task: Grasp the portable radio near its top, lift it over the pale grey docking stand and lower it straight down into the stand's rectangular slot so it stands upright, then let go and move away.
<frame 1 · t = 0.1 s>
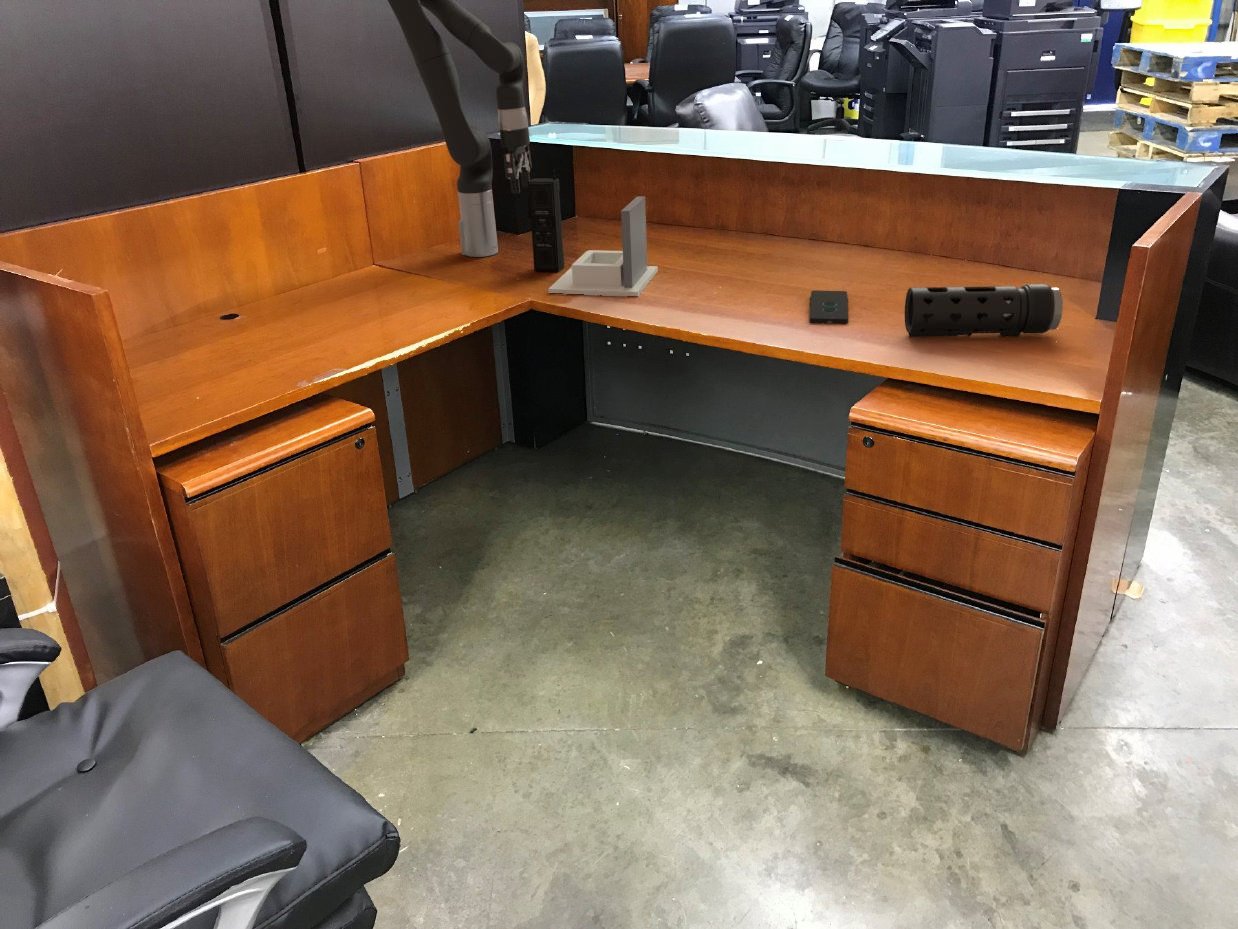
hand: (521, 190, 256), 17 cm above the table, tool pointing down, fingers open, 8 cm apart
portable radio: (548, 269, 249), on the table
docking stand: (604, 282, 236), on the table
smart home device: (828, 311, 210), on the table
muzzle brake: (978, 337, 191), on the table
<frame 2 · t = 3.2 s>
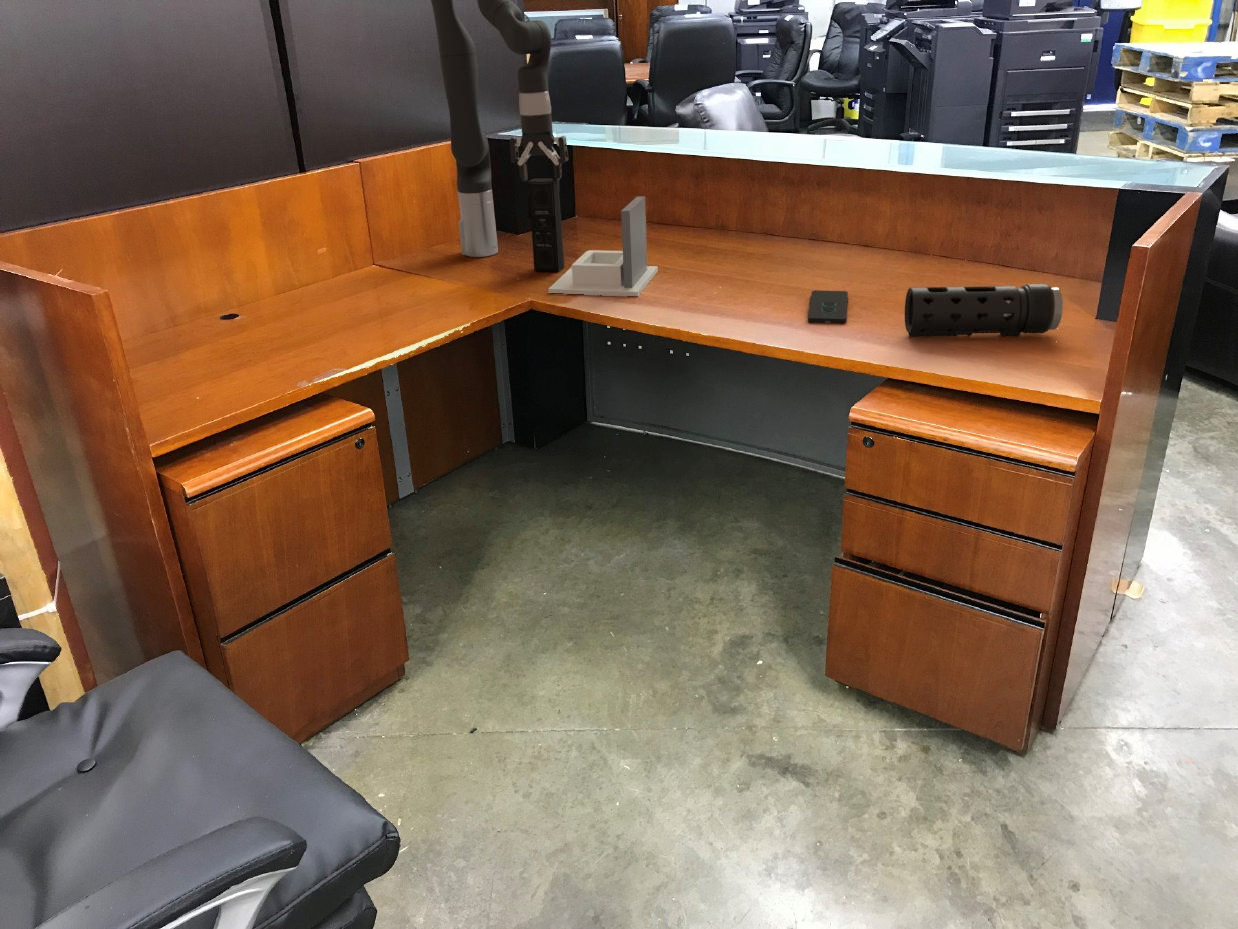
hand: (541, 180, 239), 23 cm above the table, tool pointing down, fingers open, 8 cm apart
portable radio: (548, 269, 249), on the table, touching gripper
everything else where it was.
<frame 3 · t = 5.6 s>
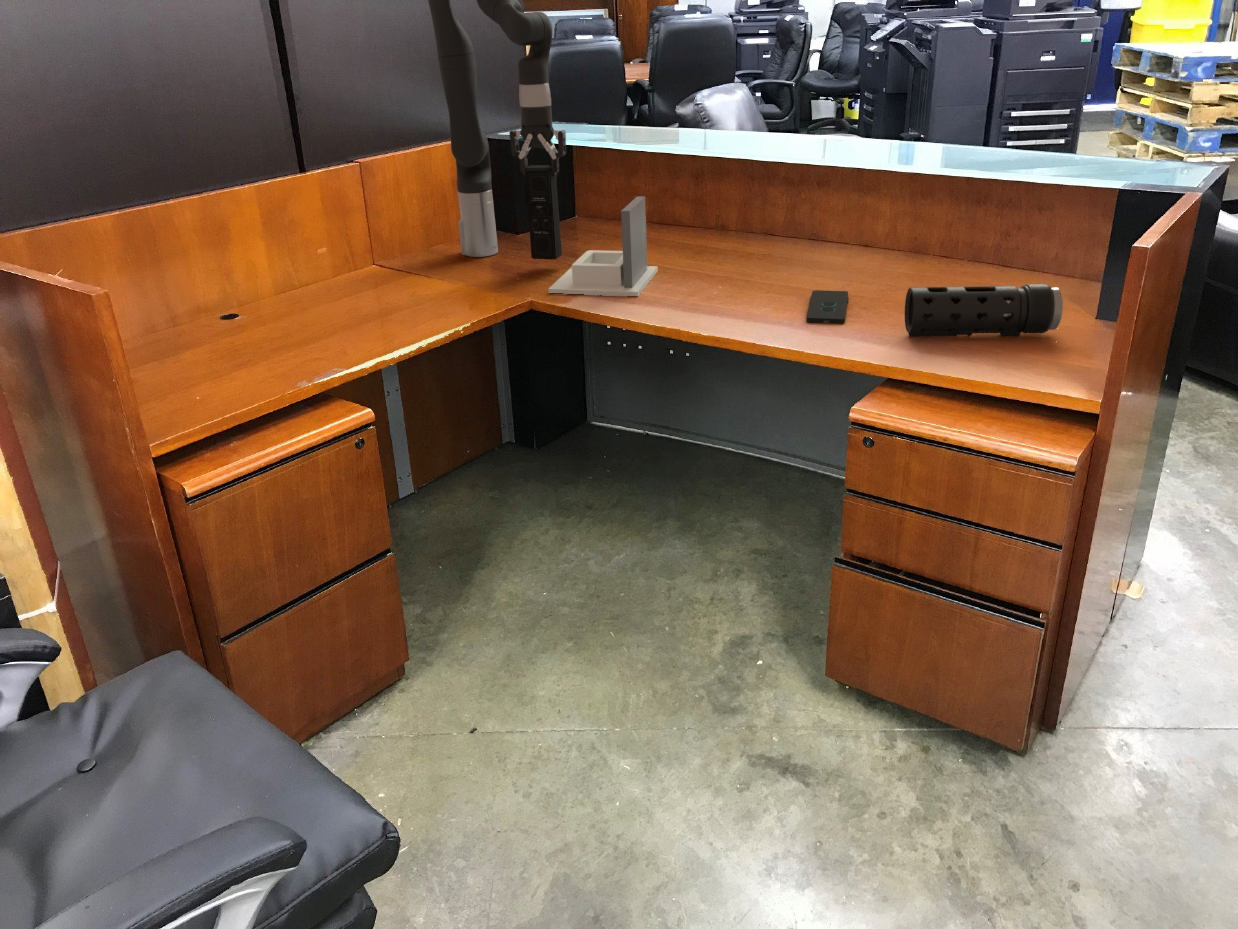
hand: (540, 173, 238), 24 cm above the table, tool pointing down, fingers closed on portable radio, 7 cm apart
portable radio: (545, 257, 248), point 3 cm above the table, touching gripper
everything else where it was.
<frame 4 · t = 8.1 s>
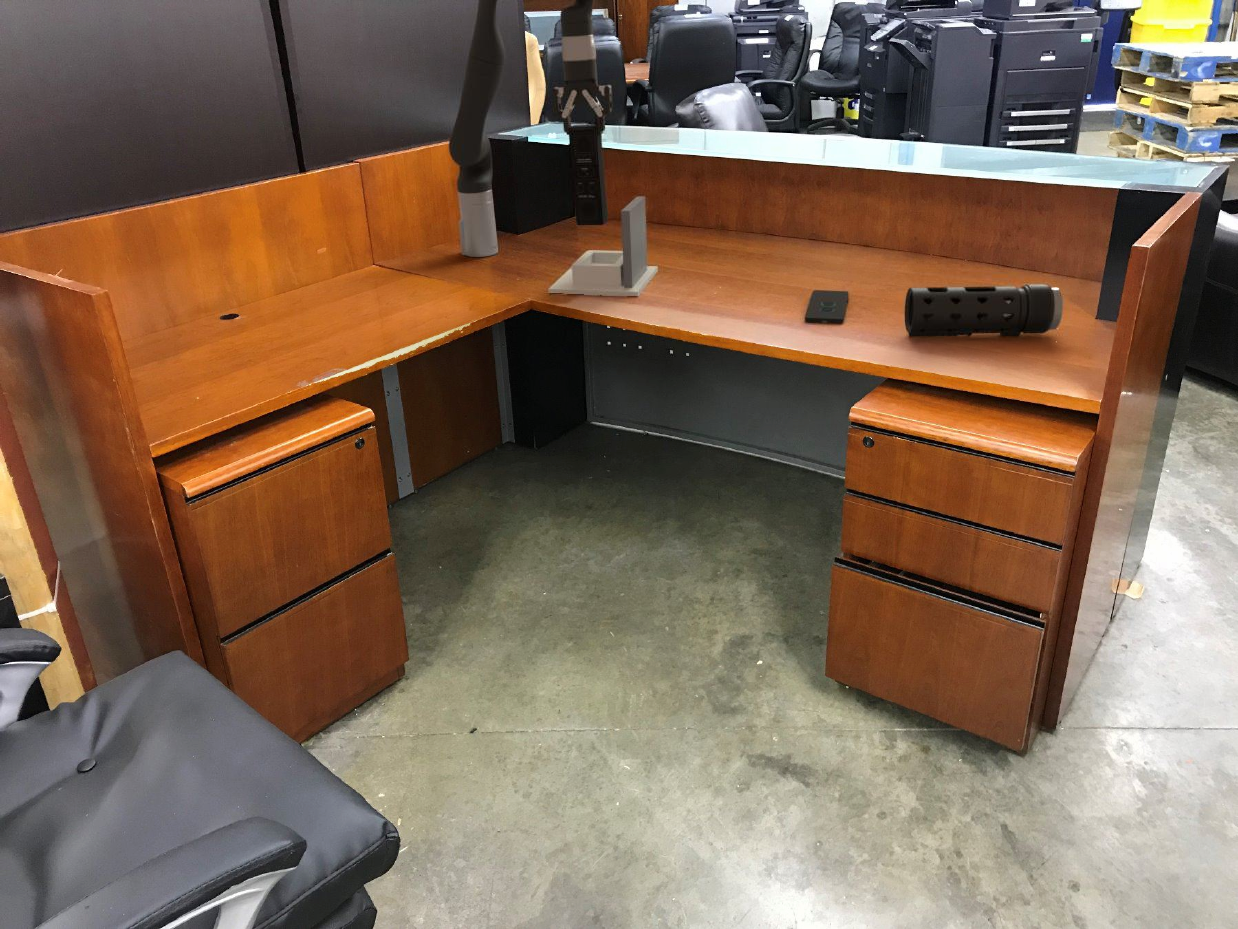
hand: (584, 133, 224), 35 cm above the table, tool pointing down, fingers closed on portable radio, 7 cm apart
portable radio: (590, 223, 233), point 14 cm above the table, touching gripper
everything else where it was.
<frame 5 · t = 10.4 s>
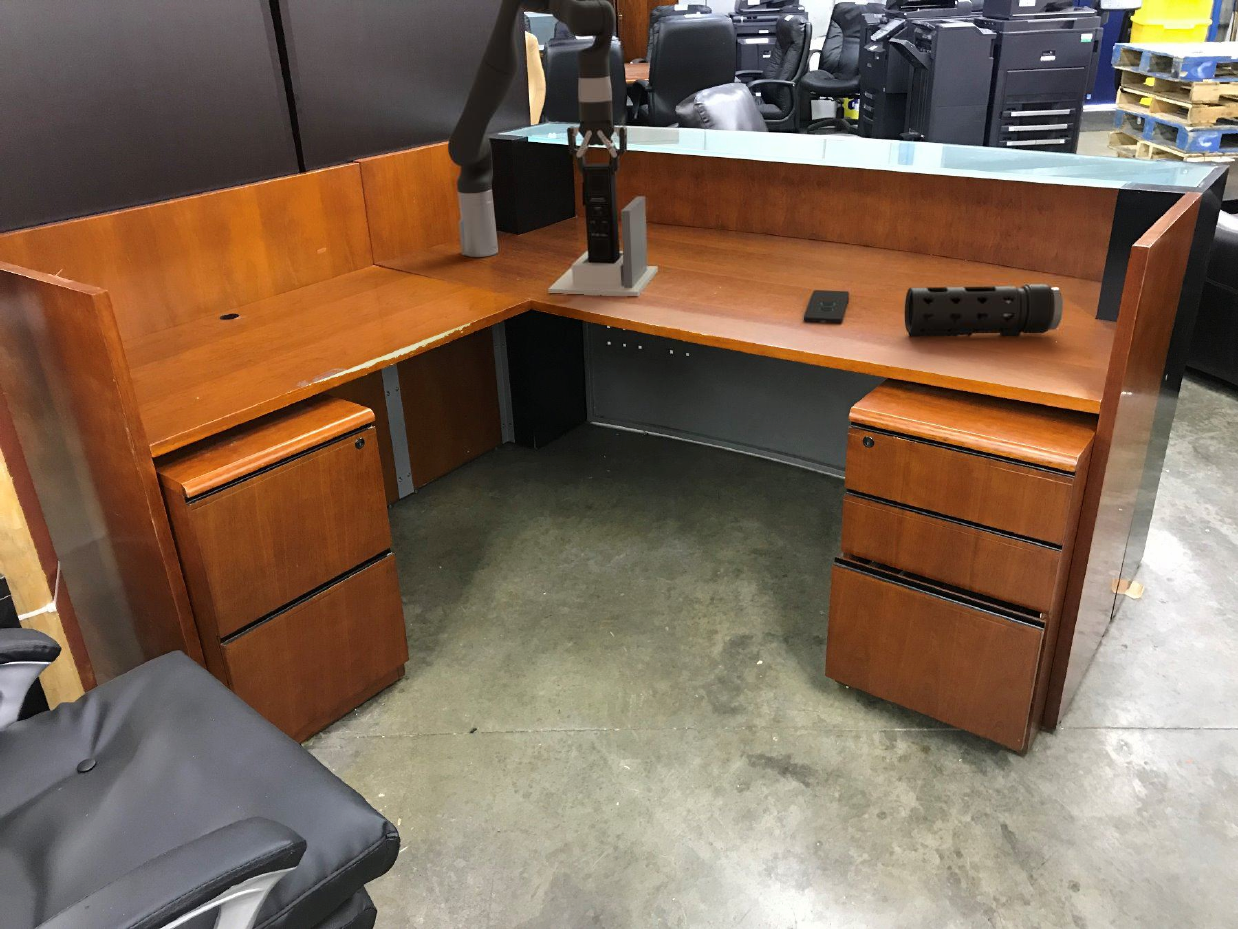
hand: (598, 173, 224), 26 cm above the table, tool pointing down, fingers closed on portable radio, 7 cm apart
portable radio: (602, 261, 234), point 5 cm above the table, touching gripper
everything else where it was.
when the fingers open (23 cm above the table, at t = 12.0 s): portable radio drops 1 cm, resting on docking stand.
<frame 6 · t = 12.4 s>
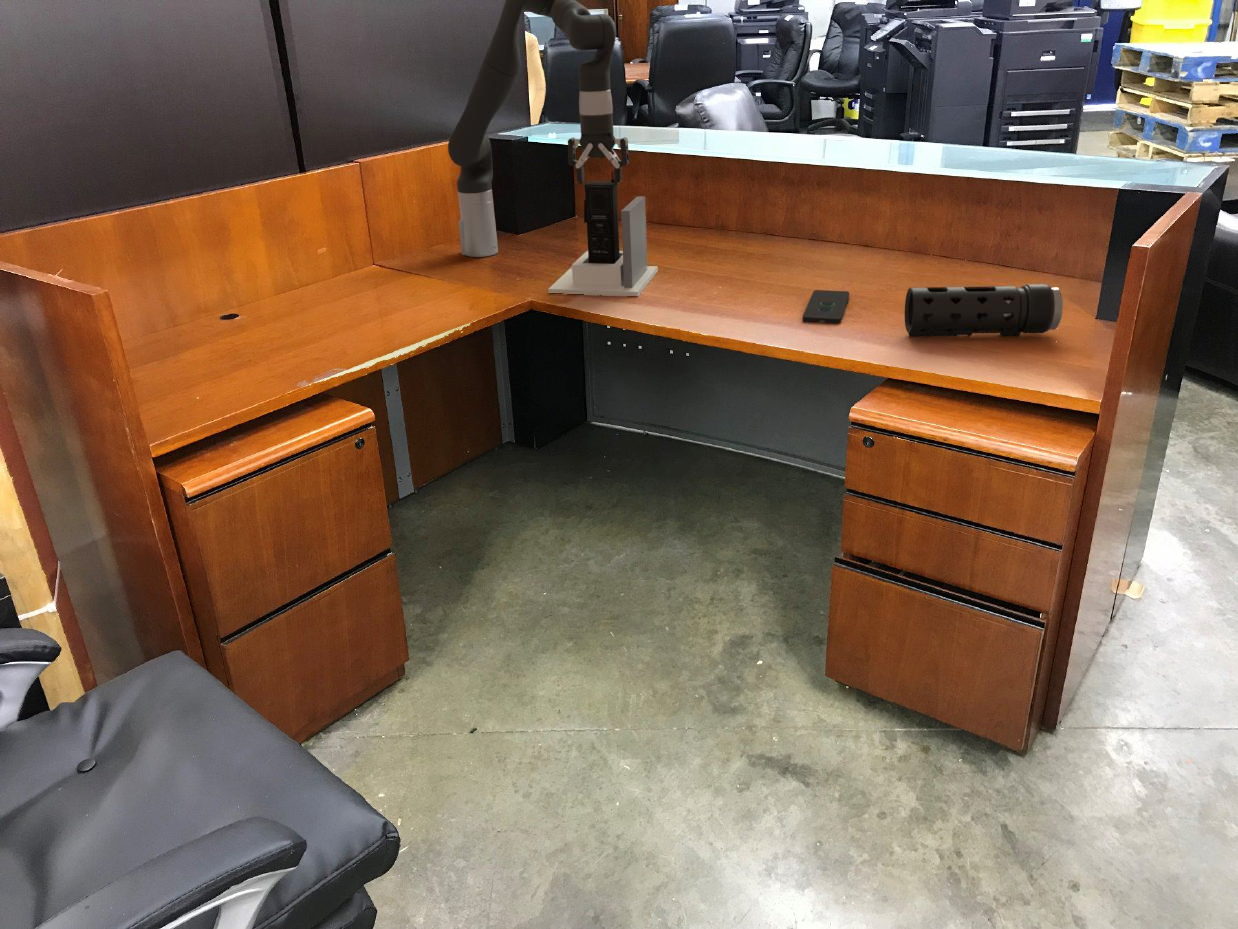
hand: (599, 184, 225), 24 cm above the table, tool pointing down, fingers open, 8 cm apart
portable radio: (603, 277, 236), point 1 cm above the table, touching docking stand
everything else where it was.
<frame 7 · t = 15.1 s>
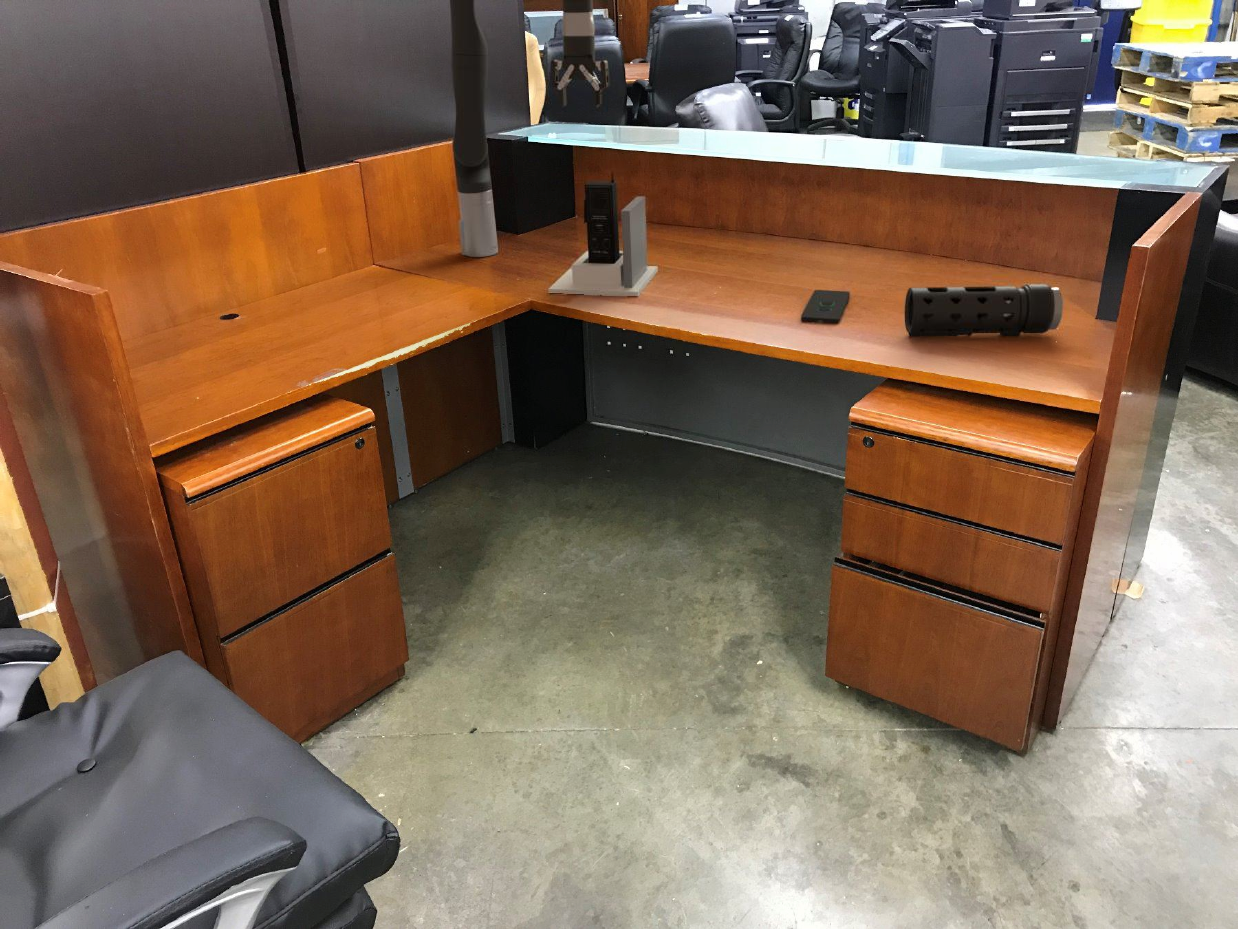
hand: (580, 106, 234), 39 cm above the table, tool pointing down, fingers open, 8 cm apart
nothing on the table moved.
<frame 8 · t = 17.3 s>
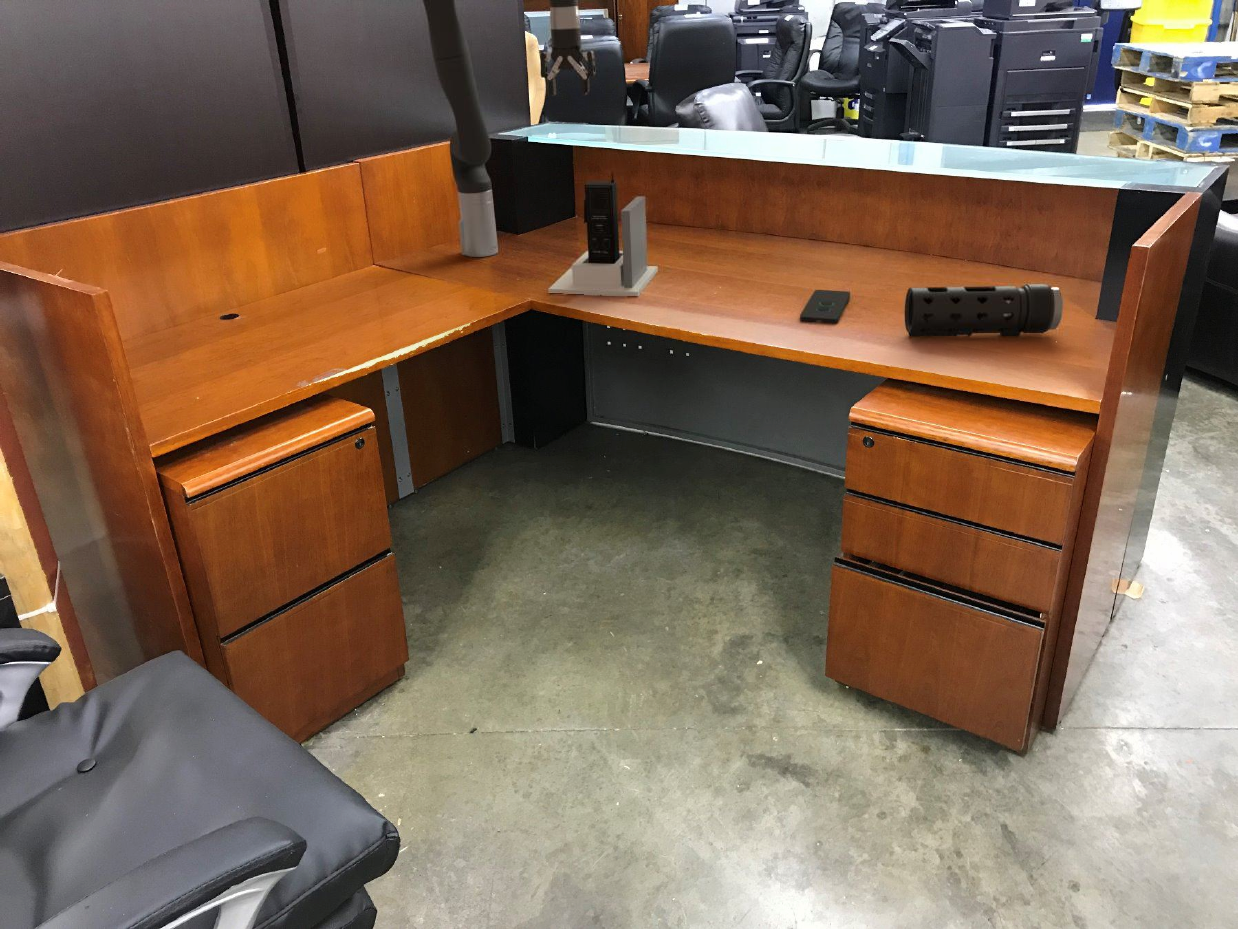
hand: (569, 94, 249), 40 cm above the table, tool pointing down, fingers open, 8 cm apart
at the end: portable radio 0.4 cm off-centre on the docking stand, point 1.0 cm above the docking stand's base; portable radio tilted 0°; the gripper is holding nothing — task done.
